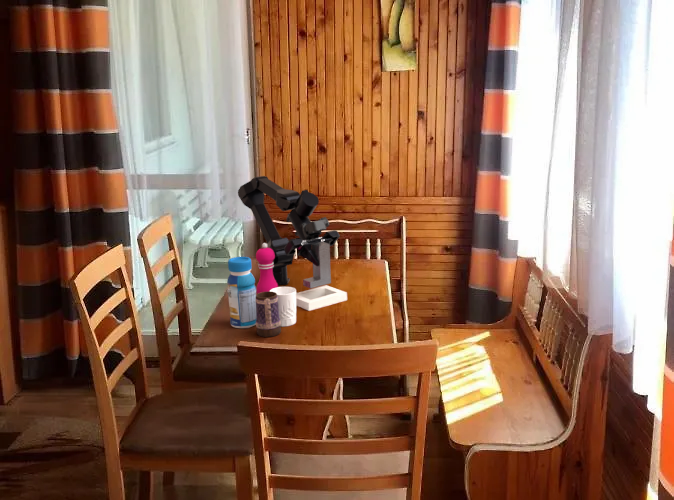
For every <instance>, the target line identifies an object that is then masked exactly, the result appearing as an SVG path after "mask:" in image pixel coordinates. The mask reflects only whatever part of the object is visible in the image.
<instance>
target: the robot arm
mask: <svg viewBox="0 0 674 500" xmlns="http://www.w3.org/2000/svg"><path fill="white" fill-rule="evenodd" d="M265 195H266V196H268V197H270V198H271V199H272V200H274V201H275V205H276V206H277V207H278V208H279V209H280V211H282V212H285V211H290V212H289V213H287V217H286V223H289V222H291V225H292V226H293V228H294V230H295V232H294V235H295V236H296V237H295V238H291V239H288V238H287V237H284V238H283V237H281V236H280V233H279V232H278V230H277V227H276V225H275V224H274V221H273V220H272V218H271V216H270V213H269V211H268V209H267V207H266V205H265V201H264V200H265ZM237 196H238V198H239V200H240V201H241V202H242V204H243V205H244V206H245V207H247V208H248V209H250V210H251V212H252V214H253V217H254V218H255V221H256V223H257V224H258V227H259V229H260V231H261V233H262V235H263V238H264V239H265V242H266V244H267V248H271V249H272V250H273V251H274V254H275V258H274V260H273V262H274V264H273V265H274V267H273V276H274V278H275V280H276V282H277V284H278V286H286V285H289V282H290V280H291V279H290V277H288V268H287V267H288V266H289V265H290V266H292V265H293V259H294V255H295V254H296V252H297V251H298V252H297V254H296V255H297V256H300V257H302V258H303V259H306V260H307V261H309V262H310V263H311V264H312V265H313V264H314V265H316V266H319V262H318V260H317V258H316V256H315V254H314V252H313V251H312V244H313V243H318V242H325V243H328V244H330V247H332V246H334V245H335V243H336V242H337V241H338V240H339V239H340V237H341V235H340V234H339V232H338V230H335V229H334V230H329V231H326V232H325V233H324V234H323V236H322V231H324V230H327V228H328V227H329V226H330V222H329V220H328V218H327V217H326V216H325V217H321V218H319V219H318V220H311V219H310V216H312V214H313V213H314V211H315V209H316V208H317V206H318V205H319V202H320V201H319V197H318V196H317V195H316V194H314V193H313V192H309V190H308V189H303V190H301V191H300V192H298V191H296V190H292V189H286V188H284V187H282V186H280V185H279V184H277V183H275V182H274V181H272V180H270V179H269V177H268V176H267V175H266V176H265V175H260V176H255V177H253V178H251V180H250V181H247V182H246V183H244V184H242V185H241V186H240V187H239V188H238V190H237Z"/></svg>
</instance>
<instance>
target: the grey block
mask: <svg viewBox="0 0 674 500" xmlns="http://www.w3.org/2000/svg"><path fill="white" fill-rule="evenodd" d="M311 246H312V251H313V252H314V254H315V256H316V258H317V260H318V262H319V266H316V265H314V264H313V263H312V277H309V278H308V277H307V278H303V279H302V285H303V286H304V287H305V288H308V289H314V288H318V287H322V286H325V285H329V284H332V276H331V272H332V271H331V248H330V247H331V246H330V244H328V243H325V242H318V243H313V244H312V245H311Z"/></svg>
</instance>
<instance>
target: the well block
mask: <svg viewBox="0 0 674 500" xmlns="http://www.w3.org/2000/svg"><path fill="white" fill-rule="evenodd" d="M346 301H348V292H347V291H344V290H341V289H338V288H335V287H332V286H329V285H328V284H326V285H322V286H318V287H314V288H309V289H308V290H304V291H300V292H296V307H298V308H302V309H304V310H306V311H309V312H310V311H314V310H317V309H321V308H324V307H328V306H331V305H335V304H338V303H341V302H346Z"/></svg>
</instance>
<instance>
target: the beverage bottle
mask: <svg viewBox="0 0 674 500" xmlns="http://www.w3.org/2000/svg"><path fill="white" fill-rule="evenodd" d="M227 266H228V267H227V268H228V272H229V273H230V274H229V275H228V277H227V280H226V285H227V286H228V287H227V291H226V293H227V296H228V308H229V321H230V322H229V324H230V326H231V327H233V328H235V329H249V328H252V327H255V326H256V294H257V293H256V288H257V286H256V285H255V283H256V279H255V276H254V275H253V273H252V272H251V271H252V267H253V266H252V259H251V258H250V257H249V256H235V257H231V258H229V259H228V260H227Z"/></svg>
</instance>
